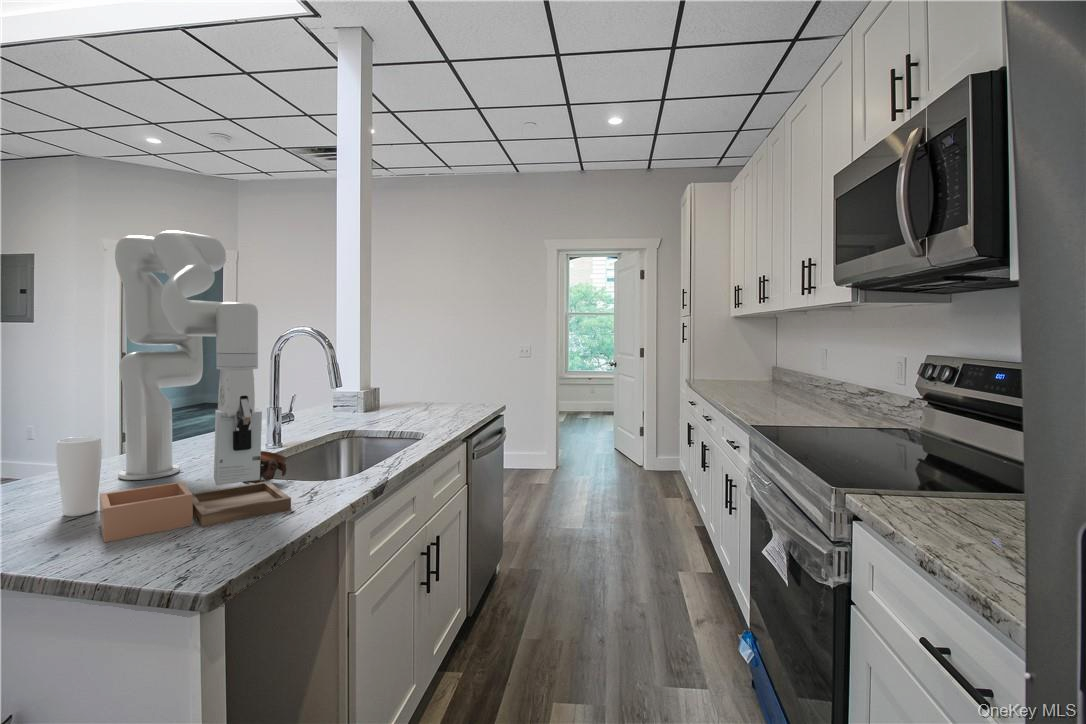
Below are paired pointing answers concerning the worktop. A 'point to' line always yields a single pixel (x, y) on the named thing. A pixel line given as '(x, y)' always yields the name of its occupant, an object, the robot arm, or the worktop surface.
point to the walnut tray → (238, 503)
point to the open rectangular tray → (145, 510)
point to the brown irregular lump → (270, 465)
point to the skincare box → (236, 463)
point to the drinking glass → (79, 474)
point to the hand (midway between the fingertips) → (237, 446)
